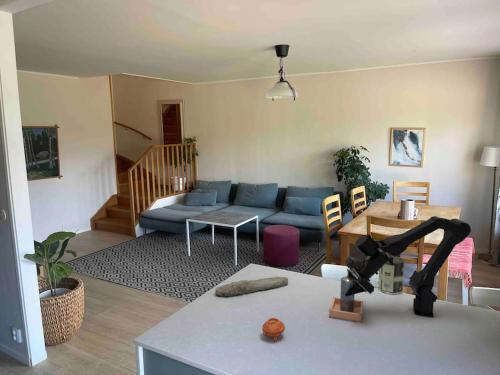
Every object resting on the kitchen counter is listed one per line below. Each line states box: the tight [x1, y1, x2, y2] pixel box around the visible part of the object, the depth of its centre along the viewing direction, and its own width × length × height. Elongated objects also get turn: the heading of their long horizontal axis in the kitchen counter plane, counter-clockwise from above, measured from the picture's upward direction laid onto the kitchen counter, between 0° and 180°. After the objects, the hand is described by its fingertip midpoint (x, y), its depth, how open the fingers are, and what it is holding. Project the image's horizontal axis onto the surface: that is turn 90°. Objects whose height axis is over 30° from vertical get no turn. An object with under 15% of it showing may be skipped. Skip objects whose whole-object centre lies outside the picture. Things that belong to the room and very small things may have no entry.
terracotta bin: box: [328, 296, 364, 323], centre depth 145 cm, size 12×12×3 cm
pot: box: [261, 317, 286, 342], centre depth 129 cm, size 8×8×7 cm
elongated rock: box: [214, 276, 289, 297], centre depth 168 cm, size 35×5×10 cm
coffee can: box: [377, 254, 405, 295], centre depth 164 cm, size 10×10×14 cm
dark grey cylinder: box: [339, 276, 356, 313], centre depth 144 cm, size 5×5×13 cm
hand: (343, 291), depth 144 cm, fingers open, 6 cm apart
